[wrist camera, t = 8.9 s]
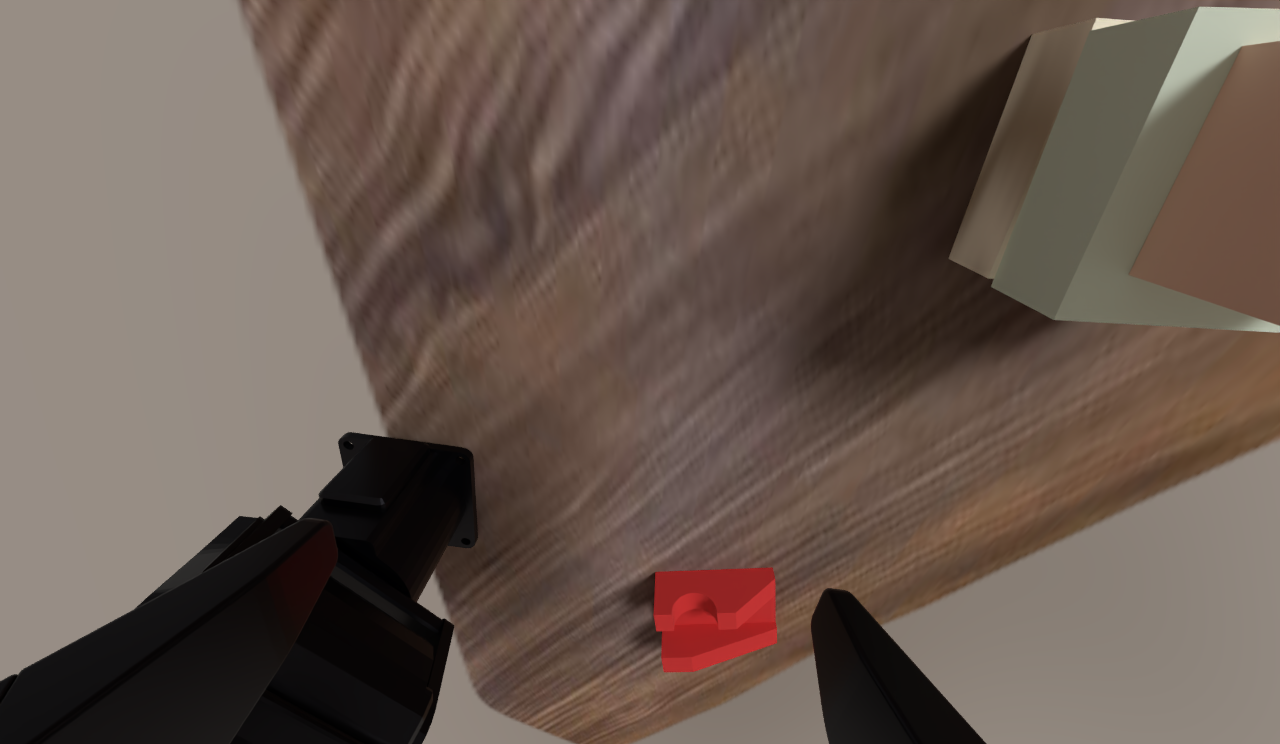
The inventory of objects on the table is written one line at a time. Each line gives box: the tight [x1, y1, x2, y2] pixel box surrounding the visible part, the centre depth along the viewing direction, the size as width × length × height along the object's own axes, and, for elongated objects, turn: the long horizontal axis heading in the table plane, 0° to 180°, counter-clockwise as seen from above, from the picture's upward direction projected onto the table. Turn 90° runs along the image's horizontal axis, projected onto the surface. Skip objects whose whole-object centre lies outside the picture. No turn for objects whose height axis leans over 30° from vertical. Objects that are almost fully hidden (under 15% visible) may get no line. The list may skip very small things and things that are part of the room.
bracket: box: [654, 568, 777, 672], centre depth 27 cm, size 6×5×3 cm
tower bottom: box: [948, 18, 1132, 279], centre depth 15 cm, size 7×7×3 cm
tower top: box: [991, 7, 1280, 332], centre depth 13 cm, size 7×7×3 cm
